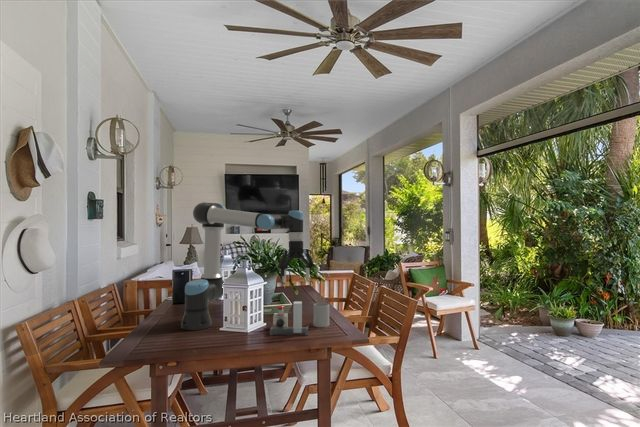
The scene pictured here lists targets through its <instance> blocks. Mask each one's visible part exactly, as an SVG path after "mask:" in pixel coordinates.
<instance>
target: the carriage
mask: <svg viewBox="0 0 640 427" xmlns="http://www.w3.org/2000/svg"><path fill="white" fill-rule="evenodd" d="M292 304H293V307H292V308H293V313H292V314H293V321H292V323H293V326H292V327H293V333H302V327H303V326H302V325H303V324H302V323H303V301H293V303H292Z"/></svg>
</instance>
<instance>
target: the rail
mask: <svg viewBox="0 0 640 427" xmlns="http://www.w3.org/2000/svg"><path fill="white" fill-rule="evenodd" d="M274 335H275V336H276V335H279V336H280V335H282V336H283V335H285V336H286V335H288V336H289V335H292V336H293V335H295V336H296V335H301V336H302V335H305V336H309V326H308V325H307V326H302V333H293V326H288V327H273V326H270V329H269V336H274Z"/></svg>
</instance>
